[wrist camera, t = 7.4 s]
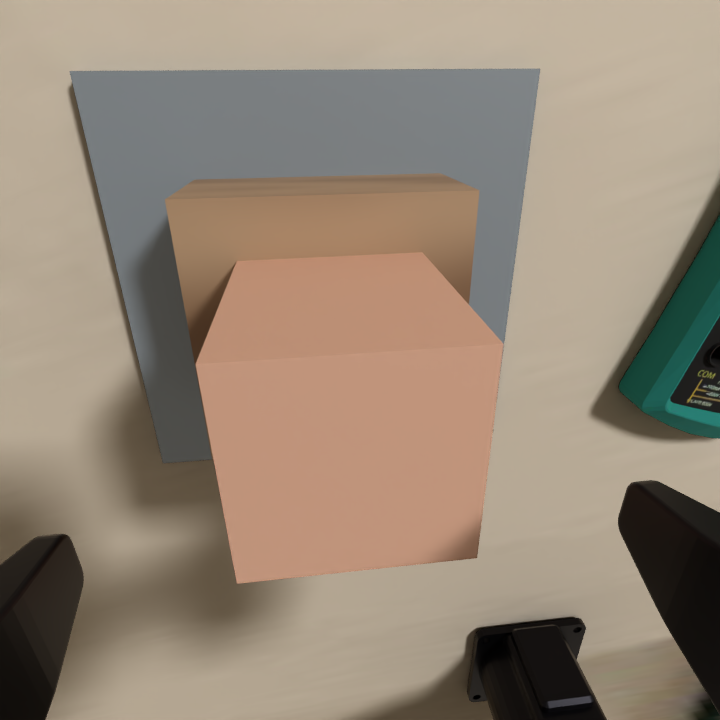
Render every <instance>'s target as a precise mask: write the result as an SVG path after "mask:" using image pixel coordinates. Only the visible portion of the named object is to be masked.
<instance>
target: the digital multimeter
mask: <svg viewBox="0 0 720 720" xmlns="http://www.w3.org/2000/svg"><path fill="white" fill-rule="evenodd" d="M619 390H620V392H621V393H622V394H623V395H625V396H626V397H627V398H628V399H629V400H630V401H631V402H632V403H634V404H635V405H636V406H637V407H638V408H639V409H640V410H642V411H643V412H644V413H646V414H648V415H650V416H652V417H653V418H655V419H657V420H659V421H661V422H663V423H665V424H667V425H669V426H671V427H674V428H677V429H679V430H682V431H684V432H687V433H689V434H694V435H699V436H704V437H709V438H720V215H719V216H718V218H717V220H716V222H715V224H714V225H713V227H712V229H711V231H710V233H709V234H708V236H707V238H706V240H705V242H704V243H703V245H702V247H701V249H700V251H699V253H698V254H697V256H696V258H695V259H694V261H693V263H692V264H691V266H690V268H689V269H688V271H687V273H686V274H685V276H684V278H683V279H682V281H681V283H680V284H679V286H678V288H677V289H676V291H675V293H674V294H673V296H672V298H671V299H670V301H669V303H668V304H667V306H666V308H665V310H664V311H663V313H662V315H661V317H660V318H659V320H658V322H657V324H656V325H655V327H654V329H653V330H652V332H651V334H650V335H649V337H648V338H647V340H646V341H645V343H644V345H643V346H642V348H641V349H640V351H639V352H638V354H637V356H636V357H635V359H634V360H633V362H632V364H631V365H630V367H629V368H628V370H627V372H626V373H625V375H624V377H623V378H622V380H621V382H620V384H619ZM683 405H684V406H683ZM687 406H688V407H687ZM692 407H693V408H692ZM696 408H698V409H696ZM701 409H703V410H701ZM706 410H707V411H706ZM711 411H712V412H711ZM715 412H717V413H715Z"/></svg>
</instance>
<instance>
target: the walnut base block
mask: <svg viewBox="0 0 720 720" xmlns="http://www.w3.org/2000/svg"><path fill="white" fill-rule="evenodd" d="M479 191H480V190H478V189H475V188H473V187H471V186H468V185H466V184H464V183H462V182H459V181H457V180H455V179H452V178H450V177H448V176H446V175H443V174H441V173H430V174H391V175H352V176H313V177H275V178H236V179H197V180H193V181H192V182H190V183H189V184H187V185H186V186H184V187H183V188H181V189H180V190H178V191H177V192H175V193H174V194H172V195H171V196H169V197H168V198H166V199H165V203H166V209H167V214H168V220H169V225H170V231H171V236H172V242H173V247H174V253H175V258H176V264H177V269H178V275H179V280H180V286H181V291H182V297H183V302H184V308H185V313H186V319H187V324H188V330H189V335H190V341H191V346H192V352H193V357H194V363H195V368H196V362H197V359H198V357H199V354H200V352H201V349H202V347H203V344H204V342H205V339H206V337H207V334H208V332H209V329H210V327H211V324H212V322H213V319H214V317H215V314H216V312H217V309H218V307H219V304H220V302H221V299H222V297H223V294H224V292H225V289H226V287H227V284H228V282H229V279H230V277H231V274H232V272H233V269H234V267H235V264H236V262H237V261H250V260H271V259H292V258H313V257H334V256H355V255H376V254H397V253H418V252H423V254H424V255H425V256H426V257H427V258H428V259H429V260H430V261H431V263H432V264H433V265H434V266H435V267H436V268H437V269H438V270H439V272H440V273H441V274H442V275H443V276H444V277H445V278H446V279H447V281H448V282H449V283H450V284H451V285H452V286H453V287H454V289H455V290H456V291H457V292H458V293H459V294H460V295H461V296H462V298H463V299H464V300H465V301H466V302H467V303H468V304H469V299H470V288H471V277H472V266H473V255H474V245H475V234H476V223H477V212H478V201H479ZM196 374H197V369H196ZM197 379H198V375H197ZM198 385H199V380H198ZM199 390H200V385H199ZM200 396H201V391H200ZM201 401H202V396H201ZM202 407H203V412H204V406H203V401H202ZM204 418H205V423H206V429H207V434H208V440H209V445H210V451H211V456H212V460H214V459H213V454H212V449H211V444H210V438H209V433H208V428H207V422H206V417H205V412H204Z"/></svg>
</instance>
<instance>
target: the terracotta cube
mask: <svg viewBox="0 0 720 720" xmlns="http://www.w3.org/2000/svg"><path fill="white" fill-rule="evenodd" d="M502 352H503V343H502V342H501V340H500V339H499V338H498V337H497V336H496V335H495V334H494V332H493V331H492V330H491V329H490V328H489V327H488V326H487V325H486V323H485V322H484V321H483V320H482V319H481V318H480V317H479V316H478V314H477V313H476V312H475V311H474V310H473V309H472V308H471V307H470V305H469V304H468V303H467V302H466V301H465V300H464V299H463V298H462V296H461V295H460V294H459V293H458V292H457V291H456V290H455V289H454V287H453V286H452V285H451V284H450V283H449V282H448V281H447V279H446V278H445V277H444V276H443V275H442V274H441V273H440V272H439V270H438V269H437V268H436V267H435V266H434V265H433V264H432V263H431V261H430V260H429V259H428V258H427V257H426V256H425V255H424V254H423V252H418V253H397V254H376V255H355V256H334V257H313V258H292V259H271V260H250V261H237V262H236V264H235V267H234V269H233V272H232V274H231V277H230V279H229V282H228V284H227V287H226V289H225V292H224V294H223V297H222V299H221V302H220V304H219V307H218V309H217V312H216V314H215V317H214V319H213V322H212V324H211V327H210V329H209V332H208V334H207V337H206V339H205V342H204V344H203V347H202V349H201V352H200V354H199V357H198V359H197V362H196V369H197V375H198V380H199V385H200V391H201V396H202V401H203V406H204V412H205V417H206V422H207V428H208V433H209V438H210V444H211V449H212V454H213V459H214V465H215V470H216V475H217V481H218V486H219V491H220V497H221V502H222V507H223V512H224V518H225V523H226V528H227V534H228V539H229V544H230V550H231V555H232V560H233V565H234V571H235V576H236V581H237V584H239V583H248V582H257V581H267V580H276V579H285V578H295V577H304V576H313V575H323V574H332V573H341V572H351V571H360V570H369V569H379V568H388V567H397V566H407V565H416V564H425V563H435V562H444V561H453V560H463V559H472V558H477V554H478V545H479V537H480V529H481V521H482V513H483V505H484V497H485V489H486V481H487V473H488V465H489V457H490V449H491V441H492V433H493V425H494V417H495V409H496V401H497V392H498V384H499V376H500V368H501V360H502Z"/></svg>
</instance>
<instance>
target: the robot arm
mask: <svg viewBox="0 0 720 720" xmlns="http://www.w3.org/2000/svg"><path fill="white" fill-rule="evenodd" d="M618 526H619V530H620V533H621V535H622V538H623V540H624V542H625V544H626V546H627V548H628V550H629V552H630V554H631V556H632V558H633V560H634V562H635V564H636V566H637V568H638V570H639V573H640V575H641V577H642V579H643V581H644V583H645V585H646V587H647V589H648V591H649V593H650V595H651V597H652V599H653V601H654V603H655V605H656V607H657V609H658V611H659V613H660V615H661V617H662V619H663V621H664V622H665V624H666V626H667V628H668V629H669V631H670V633H671V635H672V636H673V638H674V640H675V641H676V643H677V645H678V646H679V648H680V650H681V651H682V653H683V654H684V656H685V658H686V659H687V661H688V663H689V664H690V666H691V668H692V669H693V671H694V673H695V674H696V676H697V678H698V679H699V681H700V683H701V684H702V686H703V688H704V689H705V691H706V692H707V694H708V696H709V697H710V699H711V701H712V702H713V704H714V706H715V707H716V709H717V711H718V712H719V714H720V513H719V512H717V511H715V510H713V509H711V508H709V507H707V506H705V505H704V504H702V503H700V502H698V501H696V500H694V499H692V498H690V497H688V496H686V495H684V494H682V493H680V492H678V491H676V490H674V489H672V488H670V487H668V486H666V485H664V484H662V483H660V482H658V481H652V480H650V481H639V482H633V483H631V484H630V485H629V486H628V487H627V490H626V493H625V496H624V500H623V503H622V506H621V510H620V513H619V517H618ZM83 581H84V576H83V570H82V567H81V564H80V562H79V559H78V556H77V554H76V551H75V548H74V546H73V543H72V541H71V539H70V537H69V536H68V535H66V534H54V535H43V536H38V537H36V538H34V539H33V540H31V541H30V542H29V543H27V544H26V545H25V546H23V547H22V548H21V549H20V550H18V551H17V552H16V553H15V554H13V555H12V556H11V557H9V558H8V559H7V560H6V561H4V562H3V563H2V564H1V565H0V720H45V719H46V717H47V714H48V711H49V708H50V705H51V702H52V699H53V697H54V694H55V690H56V687H57V683H58V680H59V676H60V673H61V669H62V665H63V661H64V657H65V653H66V650H67V646H68V642H69V638H70V634H71V630H72V626H73V623H74V619H75V615H76V611H77V607H78V603H79V599H80V596H81V592H82V588H83ZM585 630H586V627H585V625H584V623H583V621H582V620H581V619H580V618H572V619H563V620H554V621H546V622H537V623H529V624H520V625H512V626H503V627H494V628H486V629H481V630H479V631H478V632H477V633H476V635H475V640H474V647H473V654H472V661H471V668H470V675H469V681H468V688H467V694H468V697H469V700H470V701H471V702H479V701H488V704H489V707H490V710H491V713H492V716H493V719H494V720H607V719H606V717H605V715H604V713H603V711H602V709H601V707H600V705H599V703H598V701H597V699H596V697H595V695H594V693H593V691H592V689H591V688H590V686H589V684H588V682H587V680H586V678H585V676H584V674H583V672H582V670H581V668H580V666H579V664H578V662H577V656H578V653H579V650H580V646H581V643H582V640H583V636H584V633H585Z"/></svg>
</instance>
